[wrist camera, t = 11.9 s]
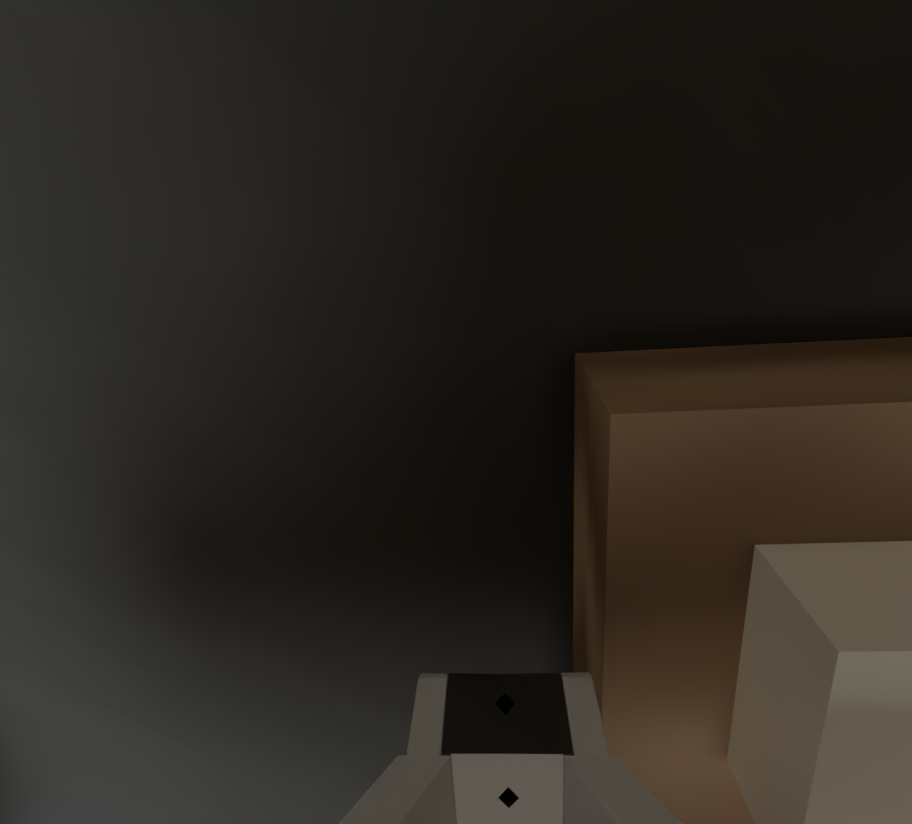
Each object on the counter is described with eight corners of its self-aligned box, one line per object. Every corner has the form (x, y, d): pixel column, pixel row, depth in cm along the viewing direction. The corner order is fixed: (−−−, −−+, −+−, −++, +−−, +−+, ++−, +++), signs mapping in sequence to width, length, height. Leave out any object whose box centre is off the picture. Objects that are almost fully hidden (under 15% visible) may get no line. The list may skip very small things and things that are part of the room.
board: (574, 353, 13) (610, 414, 9) (1150, 324, 12) (1451, 379, 8) (571, 881, 19) (592, 1048, 15) (954, 887, 18) (1076, 1066, 14)
